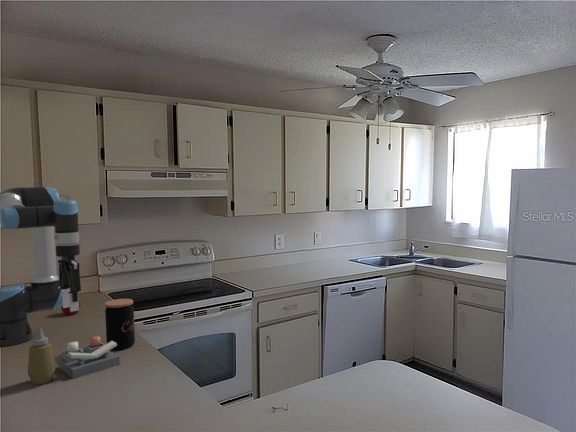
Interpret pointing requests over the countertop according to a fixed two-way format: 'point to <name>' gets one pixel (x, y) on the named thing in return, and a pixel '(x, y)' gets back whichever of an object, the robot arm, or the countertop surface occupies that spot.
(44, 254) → the robot arm
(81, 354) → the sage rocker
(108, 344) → the block
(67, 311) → the apple
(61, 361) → the panel
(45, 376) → the squeeze bottle
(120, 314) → the coffee jar
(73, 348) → the ivory button
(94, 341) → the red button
